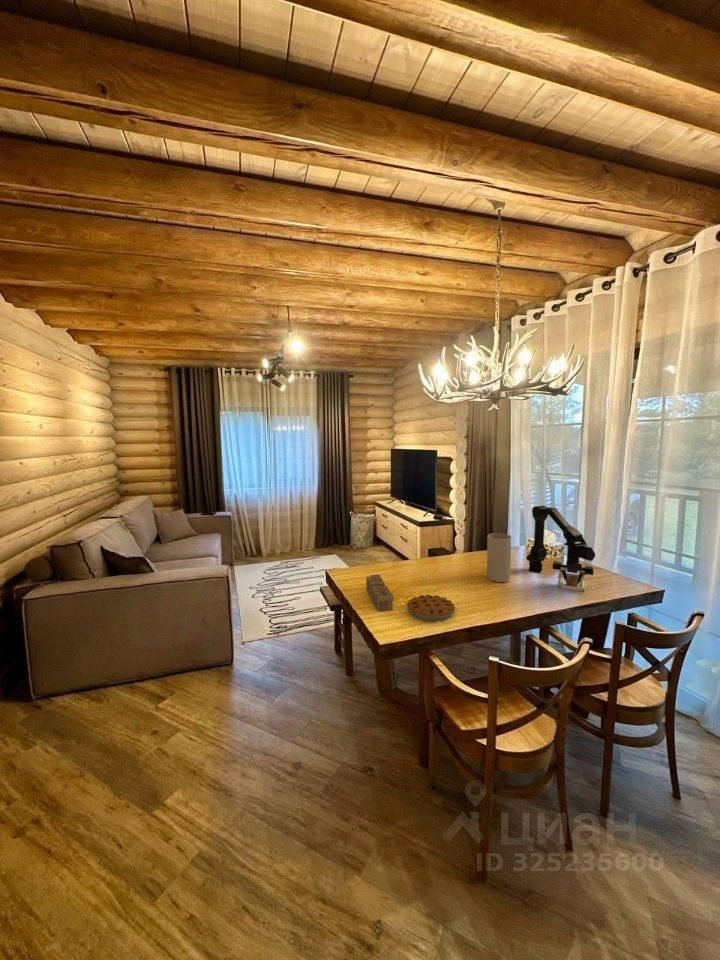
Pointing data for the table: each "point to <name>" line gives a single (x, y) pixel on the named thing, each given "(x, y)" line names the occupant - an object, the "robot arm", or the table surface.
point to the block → (572, 579)
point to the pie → (431, 608)
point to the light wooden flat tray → (571, 586)
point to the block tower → (379, 593)
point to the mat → (564, 578)
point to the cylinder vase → (498, 557)
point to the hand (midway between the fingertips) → (572, 583)
